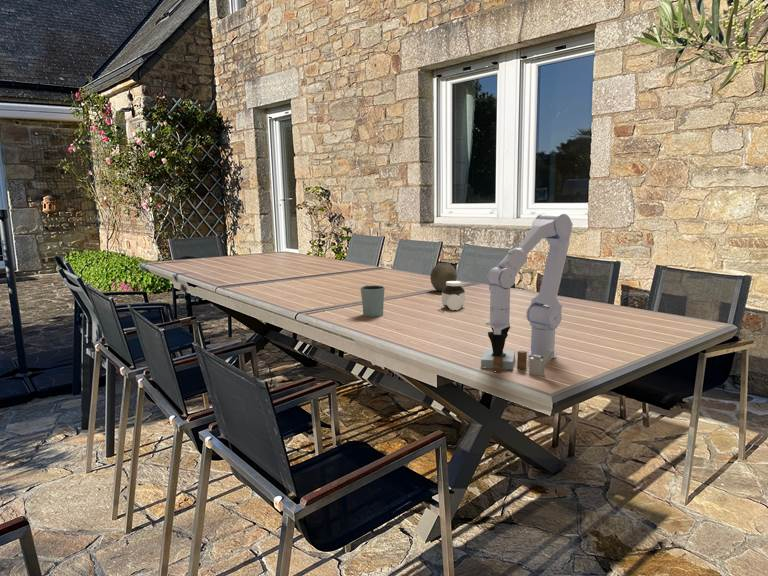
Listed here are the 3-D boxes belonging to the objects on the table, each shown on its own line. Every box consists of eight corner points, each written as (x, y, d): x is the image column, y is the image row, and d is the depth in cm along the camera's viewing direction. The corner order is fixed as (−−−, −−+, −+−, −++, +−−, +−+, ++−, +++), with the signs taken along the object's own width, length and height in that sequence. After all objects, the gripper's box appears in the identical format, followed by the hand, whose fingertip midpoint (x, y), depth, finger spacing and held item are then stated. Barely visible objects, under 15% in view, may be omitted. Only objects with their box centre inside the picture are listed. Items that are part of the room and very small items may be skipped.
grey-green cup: (388, 313, 243) (388, 286, 242) (378, 318, 234) (378, 289, 232) (367, 311, 248) (367, 284, 246) (356, 316, 239) (356, 288, 237)
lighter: (528, 372, 161) (529, 345, 159) (532, 371, 162) (533, 344, 161) (550, 378, 155) (551, 350, 154) (554, 377, 157) (555, 349, 155)
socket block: (485, 356, 177) (485, 348, 177) (515, 358, 175) (515, 350, 174) (480, 367, 166) (481, 359, 165) (512, 370, 163) (512, 361, 163)
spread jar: (456, 305, 262) (456, 280, 260) (472, 309, 253) (473, 283, 251) (435, 308, 256) (436, 282, 254) (452, 312, 246) (452, 285, 244)
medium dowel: (517, 367, 166) (517, 350, 165) (526, 367, 165) (527, 351, 164) (516, 369, 163) (517, 352, 163) (526, 370, 163) (526, 353, 162)
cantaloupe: (427, 292, 296) (427, 264, 294) (433, 288, 309) (433, 261, 307) (454, 294, 292) (454, 265, 289) (459, 289, 305) (459, 262, 303)
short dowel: (493, 369, 164) (493, 356, 163) (502, 370, 163) (503, 356, 163) (492, 372, 162) (493, 358, 161) (501, 372, 161) (502, 359, 160)
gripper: (488, 303, 175) (487, 345, 178) (483, 312, 162) (482, 358, 164) (512, 304, 173) (510, 347, 176) (508, 313, 160) (507, 360, 162)
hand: (498, 352), depth 170 cm, fingers open, 7 cm apart
